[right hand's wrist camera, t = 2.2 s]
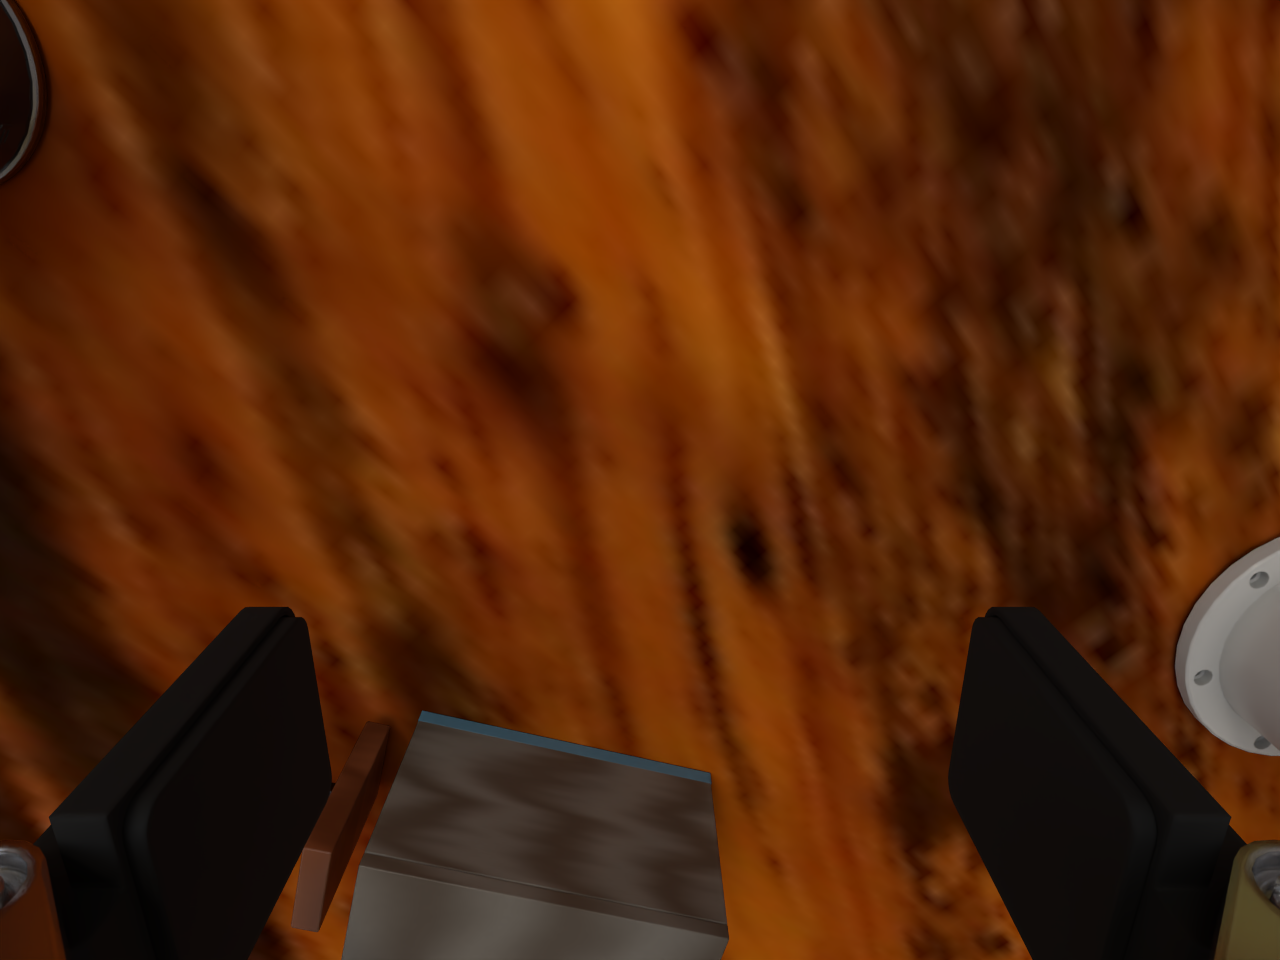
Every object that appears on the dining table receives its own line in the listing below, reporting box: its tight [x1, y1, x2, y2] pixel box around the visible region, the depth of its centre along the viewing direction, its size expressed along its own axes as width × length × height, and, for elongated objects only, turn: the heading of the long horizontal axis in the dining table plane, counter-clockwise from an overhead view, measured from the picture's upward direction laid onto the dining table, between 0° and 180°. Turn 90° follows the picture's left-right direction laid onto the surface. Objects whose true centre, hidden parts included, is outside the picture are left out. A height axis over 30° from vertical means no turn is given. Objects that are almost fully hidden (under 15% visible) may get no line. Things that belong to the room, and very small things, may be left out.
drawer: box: [291, 721, 390, 932], centre depth 38 cm, size 20×4×8 cm, turn 75°
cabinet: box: [342, 711, 729, 960], centre depth 39 cm, size 16×6×10 cm, turn 75°
